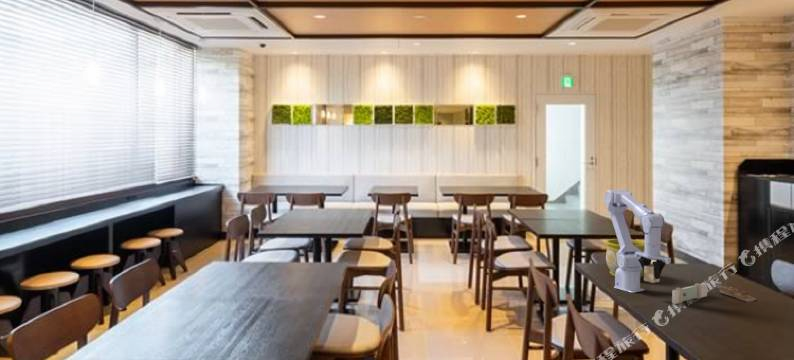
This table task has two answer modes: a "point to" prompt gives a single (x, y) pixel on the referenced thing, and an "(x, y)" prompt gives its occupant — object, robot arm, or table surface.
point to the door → (689, 293)
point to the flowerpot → (612, 251)
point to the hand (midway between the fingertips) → (651, 277)
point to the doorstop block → (649, 274)
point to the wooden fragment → (735, 293)
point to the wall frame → (678, 292)
